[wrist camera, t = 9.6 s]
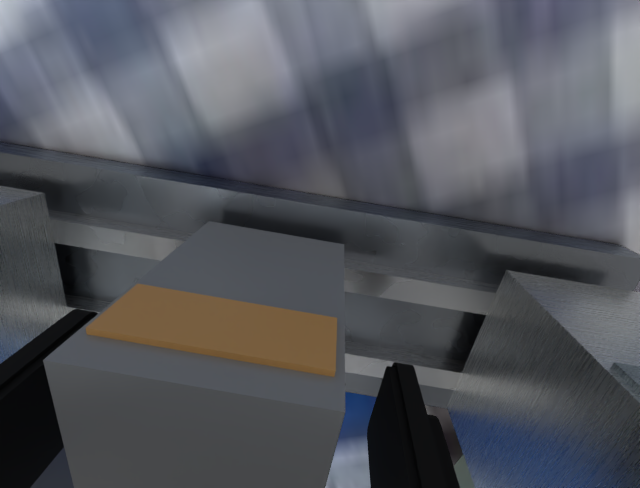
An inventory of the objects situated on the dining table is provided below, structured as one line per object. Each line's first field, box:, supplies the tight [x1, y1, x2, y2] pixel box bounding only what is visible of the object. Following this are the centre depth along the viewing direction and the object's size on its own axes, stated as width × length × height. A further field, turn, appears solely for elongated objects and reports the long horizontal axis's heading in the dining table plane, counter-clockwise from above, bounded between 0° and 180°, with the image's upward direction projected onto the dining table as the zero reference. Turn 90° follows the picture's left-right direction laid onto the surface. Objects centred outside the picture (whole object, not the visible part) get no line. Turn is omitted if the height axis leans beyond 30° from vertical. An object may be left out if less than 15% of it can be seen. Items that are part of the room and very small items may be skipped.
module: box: [43, 221, 345, 488], centre depth 10 cm, size 5×7×7 cm
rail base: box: [0, 142, 640, 488], centre depth 11 cm, size 28×9×9 cm, turn 81°
